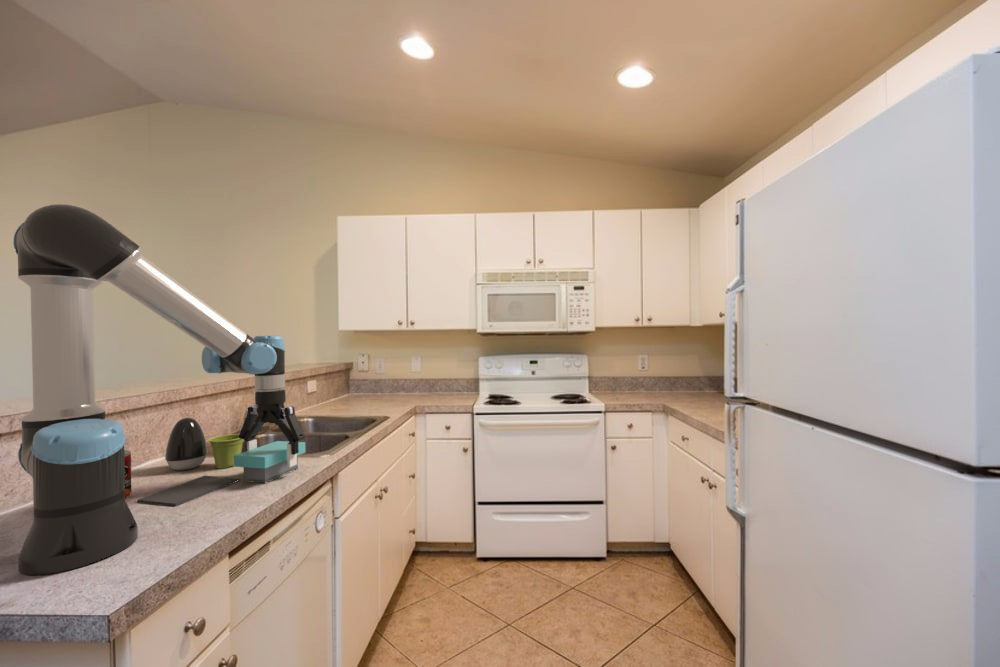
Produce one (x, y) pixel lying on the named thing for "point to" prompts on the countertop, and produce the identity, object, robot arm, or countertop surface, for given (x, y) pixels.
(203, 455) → the black egg-shaped piece
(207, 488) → the mat
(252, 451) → the lid
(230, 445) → the plant pot
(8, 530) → the countertop surface
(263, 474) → the storage box
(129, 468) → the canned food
